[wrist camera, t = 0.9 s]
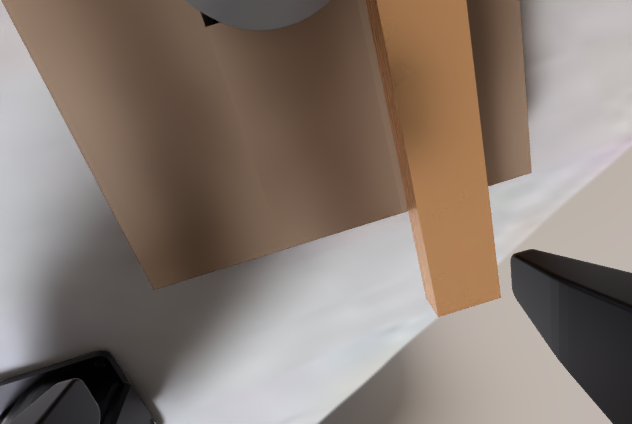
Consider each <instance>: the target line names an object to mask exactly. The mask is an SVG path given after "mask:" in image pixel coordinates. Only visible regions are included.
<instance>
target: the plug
mask: <svg viewBox="0 0 632 424" xmlns="http://www.w3.org/2000/svg"><path fill="white" fill-rule="evenodd" d="M185 1H187V2H188V3H189V4H190V5H192V6H193V7H195V8H196V9H198V10H199V11H201V12H202V13H204V14H205V15H207V16H209V17H211V18H213V19H215V20H217V21H219V22H221V23H223V24H226V25H229V26H232V27H235V28H240V29H245V30H255V31H266V30H275V29H280V28H284V27H288V26H290V25H293V24H295V23H298V22H300V21H302V20H304V19H305V18H307V17H309V16H311V15H312V14H314V13H315V12H317V11H318V10H319V9H321V8H322V7H323V6H325V5H326V4H327V3H328V2H329V1H330V0H185Z"/></svg>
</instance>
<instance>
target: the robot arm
mask: <svg viewBox="0 0 632 424" xmlns="http://www.w3.org/2000/svg"><path fill="white" fill-rule="evenodd" d="M511 278H512V290H513V293H514V296H515V297H516V299H517V301H518V302H519V304H520V305H521V306H522V308H523V309H524V311H525V312H526V314H527V315H528V317H529V318H530V319H531V321H532V322H533V324H534V325H535V327H536V328H537V330H538V331H539V332H540V334H541V335H542V337H543V338H544V340H545V341H546V343H547V344H548V346H549V347H550V348H551V350H552V351H553V353H554V354H555V355H556V357H557V358H558V360H559V361H560V362H561V363H562V364H563V366H564V367H565V368H566V369H567V370H568V372H569V373H570V374H571V375H572V376H573V378H574V379H575V380H576V381H577V382H578V383H579V385H580V386H581V387H582V388H583V389H584V390H585V392H586V393H587V394H588V395H589V396H590V397H591V398H592V400H593V401H594V402H595V403H596V404H597V406H599V408H600V409H601V410H602V411H603V413H604V414H605V415H606V416H607V417H608V418H609V419H610V421H611V422H612V423H613V424H632V273H630V272H625V271H621V270H617V269H613V268H609V267H605V266H601V265H597V264H593V263H588V262H584V261H580V260H576V259H572V258H568V257H563V256H559V255H555V254H551V253H547V252H543V251H538V250H534V249H530V250H526V251H522V252H518V253H515V254H513V255H512V257H511ZM98 360H102V361H104V362H103V363H102V362H99V361H98ZM0 424H155V423H154V422H153V420H152V419H151V414H150V413H149V411H148V410H147V408H146V406H145V405H144V403H143V402H142V400H141V398H140V397H139V395H138V393H137V392H136V390H135V389H134V387H133V385H132V384H130V383H129V382H128V380H127V378H126V377H125V375H124V374H123V372H122V370H121V369H120V367H119V366H118V364H117V362H116V361H115V359H114V358H113V356H112V355H111V354H110V353H109V352H107V351H97V352H94V353H90V354H87V355H84V356H81V357H78V358H74V359H71V360H68V361H65V362H62V363H58V364H55V365H52V366H49V367H45V368H42V369H39V370H36V371H33V372H29V373H26V374H23V375H20V376H17V377H13V378H10V379H7V380H4V381H0Z"/></svg>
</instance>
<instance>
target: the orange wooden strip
mask: <svg viewBox="0 0 632 424" xmlns="http://www.w3.org/2000/svg"><path fill="white" fill-rule="evenodd" d="M365 2H366V7H367V12H368V17H369V22H370V27H371V32H372V36H373V41H374V46H375V51H376V56H377V61H378V66H379V70H380V75H381V80H382V85H383V90H384V95H385V100H386V105H387V109H388V114H389V119H390V124H391V129H392V134H393V139H394V144H395V148H396V153H397V158H398V163H399V168H400V173H401V178H402V183H403V187H404V192H405V197H406V202H407V207H408V212H409V217H410V222H411V226H412V231H413V236H414V241H415V246H416V251H417V256H418V261H419V265H420V270H421V275H422V280H423V285H424V290H425V295H426V299H427V300H428V302H429V303H430V305H431V306H432V308H433V310H434V311H435V313H436V314H437V316H438V317H440V316H443V315H447V314H450V313H453V312H456V311H459V310H462V309H466V308H469V307H472V306H475V305H478V304H482V303H485V302H488V301H491V300H494V299H498V298H500V297H501V295H500V286H499V278H498V270H497V261H496V252H495V243H494V235H493V226H492V218H491V209H490V200H489V192H488V183H487V174H486V166H485V157H484V149H483V140H482V131H481V123H480V114H479V106H478V97H477V88H476V80H475V71H474V62H473V54H472V45H471V37H470V28H469V19H468V11H467V2H466V0H365Z"/></svg>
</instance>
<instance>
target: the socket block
mask: <svg viewBox="0 0 632 424" xmlns="http://www.w3.org/2000/svg"><path fill="white" fill-rule="evenodd" d="M1 1H2V2H3V4H4V6H5V8H6V10H7V12H8V14H9V16H10V18H11V20H12V22H13V23H14V25H15V27H16V29H17V31H18V33H19V35H20V37H21V39H22V41H23V42H24V44H25V46H26V48H27V50H28V52H29V54H30V56H31V58H32V60H33V61H34V63H35V65H36V67H37V69H38V71H39V73H40V75H41V77H42V79H43V80H44V82H45V84H46V86H47V88H48V90H49V92H50V94H51V96H52V98H53V100H54V101H55V103H56V105H57V107H58V109H59V111H60V113H61V115H62V117H63V119H64V120H65V122H66V124H67V126H68V128H69V130H70V132H71V134H72V136H73V138H74V139H75V141H76V143H77V145H78V147H79V149H80V151H81V153H82V155H83V157H84V158H85V160H86V162H87V164H88V166H89V168H90V170H91V172H92V174H93V176H94V178H95V179H96V181H97V183H98V185H99V187H100V189H101V191H102V193H103V195H104V197H105V198H106V200H107V202H108V204H109V206H110V208H111V210H112V212H113V214H114V216H115V217H116V219H117V221H118V223H119V225H120V227H121V229H122V231H123V233H124V235H125V236H126V238H127V240H128V242H129V244H130V246H131V248H132V250H133V252H134V254H135V256H136V257H137V259H138V261H139V263H140V265H141V267H142V269H143V271H144V273H145V275H146V276H147V278H148V280H149V282H150V284H151V286H152V288H153V290H155V289H158V288H162V287H165V286H168V285H171V284H175V283H178V282H181V281H184V280H187V279H191V278H194V277H197V276H200V275H204V274H207V273H210V272H213V271H216V270H220V269H223V268H226V267H229V266H233V265H236V264H239V263H242V262H245V261H249V260H252V259H255V258H258V257H262V256H265V255H268V254H271V253H274V252H278V251H281V250H284V249H287V248H291V247H294V246H297V245H300V244H303V243H307V242H310V241H313V240H316V239H320V238H323V237H326V236H329V235H332V234H336V233H339V232H342V231H345V230H349V229H352V228H355V227H358V226H362V225H365V224H368V223H371V222H374V221H378V220H381V219H384V218H387V217H391V216H394V215H397V214H400V213H403V212H407V211H408V207H407V202H406V197H405V192H404V187H403V183H402V178H401V173H400V168H399V163H398V158H397V153H396V148H395V144H394V139H393V134H392V129H391V124H390V119H389V114H388V109H387V105H386V100H385V95H384V90H383V85H382V80H381V75H380V70H379V66H378V61H377V56H376V51H375V46H374V41H373V36H372V32H371V27H370V22H369V17H368V12H367V7H366V2H365V0H330V1H329V2H328V3H327V4H326V5H325V6H323V7H322V8H321V9H319V10H318V11H317V12H315V13H314V14H312V15H311V16H309V17H307V18H305V19H304V20H302V21H300V22H298V23H295V24H293V25H290V26H288V27H284V28H280V29H275V30H266V31H255V30H245V29H240V28H235V27H232V26H229V25H226V24H223V23H221V22H220V23H217V24H214V25H213V23H212V20H211V17H209V16H207V15H205V14H204V13H202V12H201V11H199V10H198V9H196V8H195V7H193V6H192V5H190V4H189V3H188V2H187V1H185V0H1ZM466 2H467V11H468V19H469V28H470V37H471V45H472V54H473V62H474V71H475V80H476V88H477V97H478V106H479V114H480V123H481V131H482V140H483V149H484V157H485V166H486V174H487V183H488V186H490V185H494V184H497V183H500V182H503V181H507V180H510V179H513V178H516V177H519V176H523V175H526V174H529V173H532V172H531V157H530V143H529V128H528V114H527V99H526V85H525V71H524V56H523V42H522V27H521V13H520V0H466Z"/></svg>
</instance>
